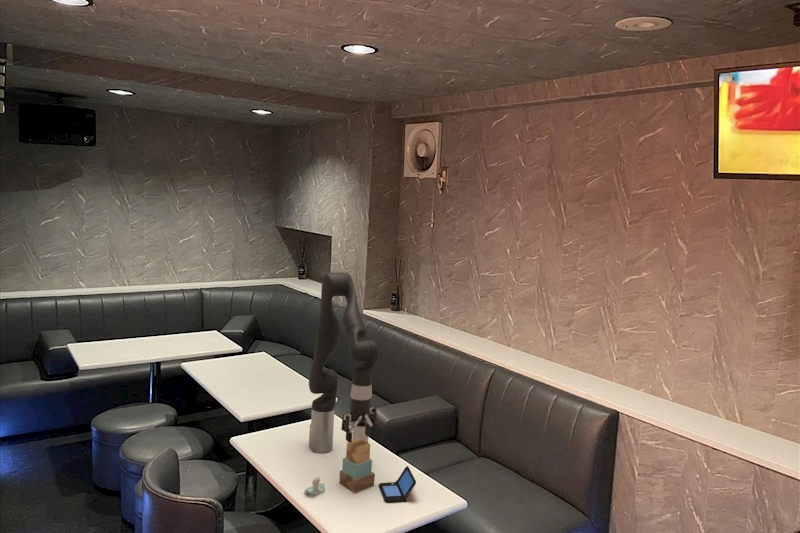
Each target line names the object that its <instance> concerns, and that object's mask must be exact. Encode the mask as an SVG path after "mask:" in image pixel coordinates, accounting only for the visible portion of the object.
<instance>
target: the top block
mask: <svg viewBox="0 0 800 533" xmlns="http://www.w3.org/2000/svg"><path fill="white" fill-rule="evenodd" d="M372 468H373V459H371V458H370V459H369V460H368V461H365V462H362V463H360V464H355V463H353V462H351V461H350V460H348V459H346V456H345V457H343V458H342V468H341V469H342V472H344V473H346V474H347V475H349V476H351V477H352V478H354V479H358V478H361V477H363V476H365V475H368V474H370V473H371V472H373V471H372V470H373V469H372Z"/></svg>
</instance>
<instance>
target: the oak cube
mask: <svg viewBox="0 0 800 533" xmlns="http://www.w3.org/2000/svg"><path fill="white" fill-rule="evenodd" d="M345 455H346V456H345V457H346V459H348V460H350V461H351V462H353V463H355V464H360V463H362V462H365V461H368V460H369V459H371V458H370V457H371V456H370V455H371V443H369V442H368V443H367V442H366V441H364V440H362V439H356V440H353V441H352V442H350V443H349V442H348V441H346V452H345Z"/></svg>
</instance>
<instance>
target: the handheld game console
mask: <svg viewBox="0 0 800 533" xmlns="http://www.w3.org/2000/svg"><path fill="white" fill-rule="evenodd" d="M416 484H417V481H416V478H415V477H414V475H413V473H412V471H411V469H410V467H409V465H408V466H406V467H405V468H404V469H403V470H402V472H401V474H400V476H399V477H398V478H397V479H396V480H395V481H393V482H392V481H390V482H380V483H378V488H379V491H380V493H381V495H382V497H383V500H384V502H385V504H393V503H396V504H397V503H406V502H407V498H408V497H409V495H410V494H411V492H412V490H413V489H414V488H415V486H416Z"/></svg>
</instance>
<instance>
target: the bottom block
mask: <svg viewBox="0 0 800 533" xmlns="http://www.w3.org/2000/svg"><path fill="white" fill-rule="evenodd" d="M338 480H339V481H338V484H339V485H341V486H343V487H344V488H345V489H347V490H348V491H350V492H352V493H353V494H357V493H359V492H362V491H365V490H366V489H369V488H372V487H375V472H373V471H371V473H370V474H368V475H365V476H363V477H361V478H358V479H354V478H352V477H351V476H349V475H347V474H346V473H344V472H342V470H341V469H340V470H339V479H338Z"/></svg>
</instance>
